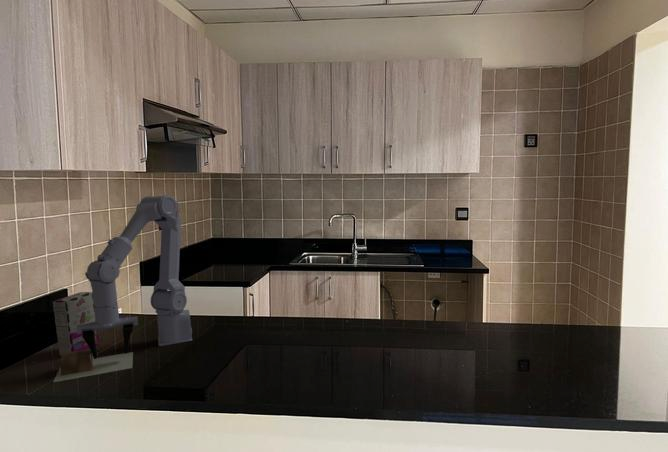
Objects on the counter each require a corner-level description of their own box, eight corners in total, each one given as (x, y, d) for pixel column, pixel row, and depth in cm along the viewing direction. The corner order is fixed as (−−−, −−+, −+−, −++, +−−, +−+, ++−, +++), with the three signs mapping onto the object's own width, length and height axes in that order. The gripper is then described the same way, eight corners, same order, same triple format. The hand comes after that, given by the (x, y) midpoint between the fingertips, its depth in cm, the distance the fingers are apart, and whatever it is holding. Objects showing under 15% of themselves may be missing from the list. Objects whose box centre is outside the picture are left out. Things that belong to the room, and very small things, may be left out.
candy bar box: (85, 343, 149) (79, 291, 148) (99, 344, 148) (93, 291, 147) (57, 356, 138) (51, 300, 137) (72, 357, 137) (66, 300, 136)
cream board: (133, 352, 138) (133, 351, 138) (132, 368, 125) (132, 367, 125) (61, 364, 131) (61, 364, 131) (53, 383, 118) (53, 382, 118)
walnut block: (92, 348, 130) (62, 353, 128) (90, 355, 125) (59, 360, 122) (93, 362, 131) (64, 368, 128) (91, 370, 125) (61, 375, 122)
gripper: (73, 312, 122) (78, 365, 123) (135, 304, 127) (140, 354, 128) (76, 307, 128) (82, 356, 129) (135, 299, 134) (140, 346, 135)
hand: (111, 355), depth 129 cm, fingers open, 7 cm apart
